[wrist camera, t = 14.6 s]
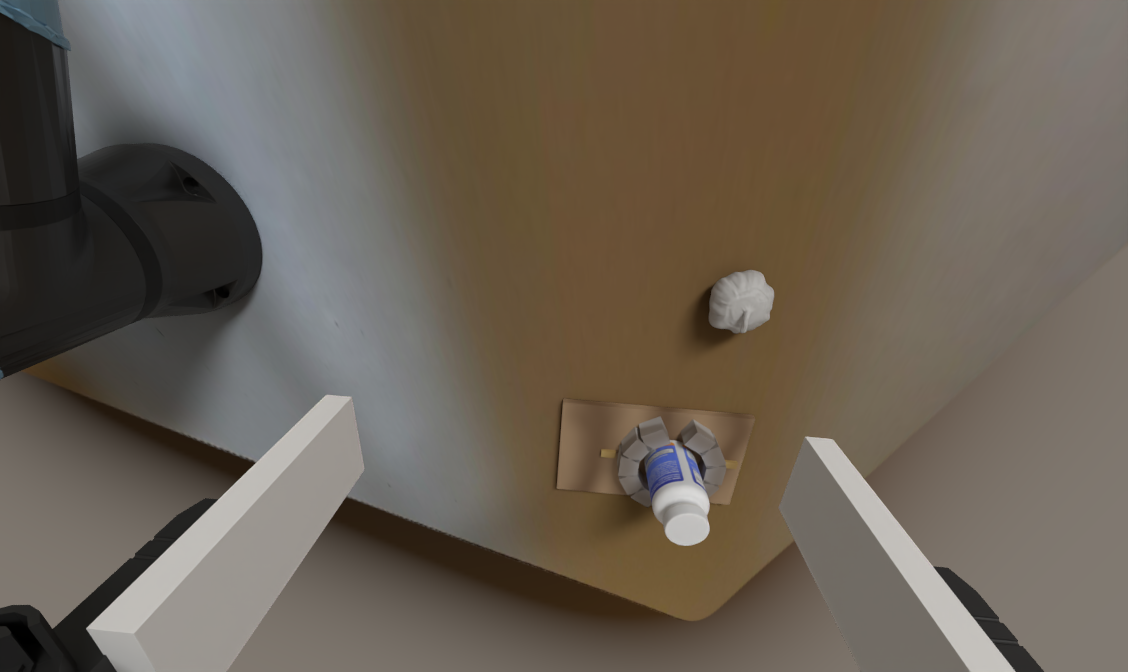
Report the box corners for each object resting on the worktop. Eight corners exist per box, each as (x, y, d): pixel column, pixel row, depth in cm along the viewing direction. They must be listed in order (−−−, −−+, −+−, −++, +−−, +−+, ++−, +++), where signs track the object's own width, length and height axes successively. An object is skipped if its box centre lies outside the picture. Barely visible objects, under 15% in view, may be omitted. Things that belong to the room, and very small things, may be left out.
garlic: (732, 333, 42) (750, 358, 37) (688, 304, 41) (701, 326, 36) (778, 284, 39) (802, 304, 35) (732, 251, 39) (751, 268, 34)
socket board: (557, 483, 51) (555, 503, 48) (563, 398, 46) (561, 415, 43) (727, 499, 51) (734, 520, 48) (752, 414, 45) (762, 432, 43)
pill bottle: (638, 471, 49) (648, 545, 40) (651, 433, 46) (665, 503, 37) (684, 480, 49) (705, 557, 40) (700, 443, 46) (726, 515, 38)
